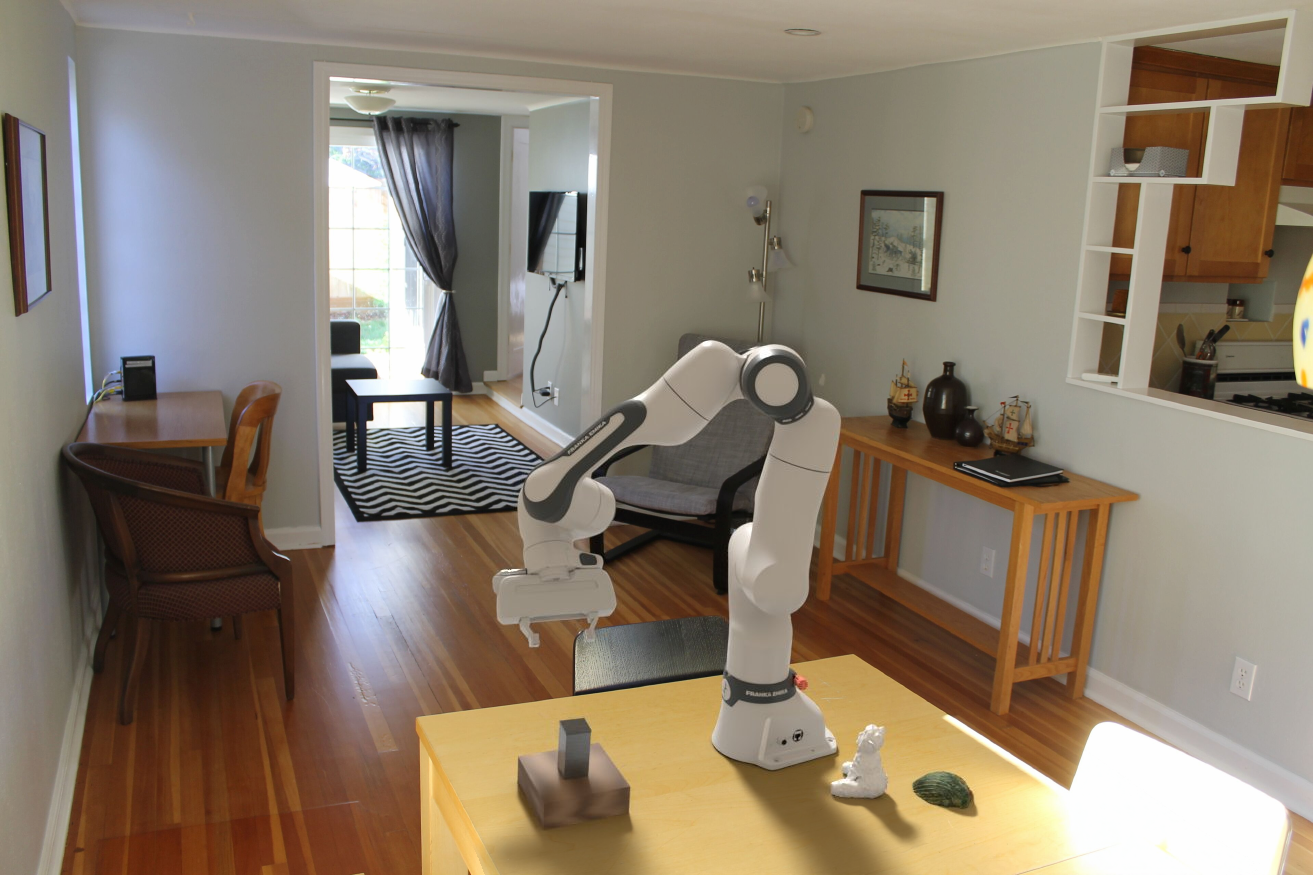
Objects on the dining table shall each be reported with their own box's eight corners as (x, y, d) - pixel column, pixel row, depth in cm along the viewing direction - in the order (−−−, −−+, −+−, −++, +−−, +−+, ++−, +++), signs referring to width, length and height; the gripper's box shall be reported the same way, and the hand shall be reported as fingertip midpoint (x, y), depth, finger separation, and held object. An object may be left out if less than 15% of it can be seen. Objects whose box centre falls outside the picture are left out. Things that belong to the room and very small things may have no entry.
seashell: (950, 751, 174) (989, 783, 165) (948, 772, 175) (987, 804, 166) (901, 764, 171) (939, 797, 162) (900, 786, 172) (937, 819, 163)
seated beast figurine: (843, 768, 174) (850, 705, 172) (893, 782, 171) (901, 718, 168) (828, 795, 166) (835, 728, 164) (879, 810, 163) (887, 743, 160)
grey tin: (581, 762, 163) (584, 717, 161) (588, 776, 159) (591, 730, 158) (556, 766, 161) (559, 720, 160) (563, 779, 158) (566, 733, 156)
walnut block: (597, 769, 171) (598, 742, 169) (628, 814, 158) (630, 786, 157) (517, 783, 165) (518, 756, 164) (543, 832, 152) (544, 803, 151)
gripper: (493, 563, 168) (503, 641, 161) (611, 555, 175) (625, 630, 168) (488, 578, 173) (497, 655, 166) (602, 571, 180) (616, 644, 173)
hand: (562, 643), depth 167 cm, fingers open, 8 cm apart
